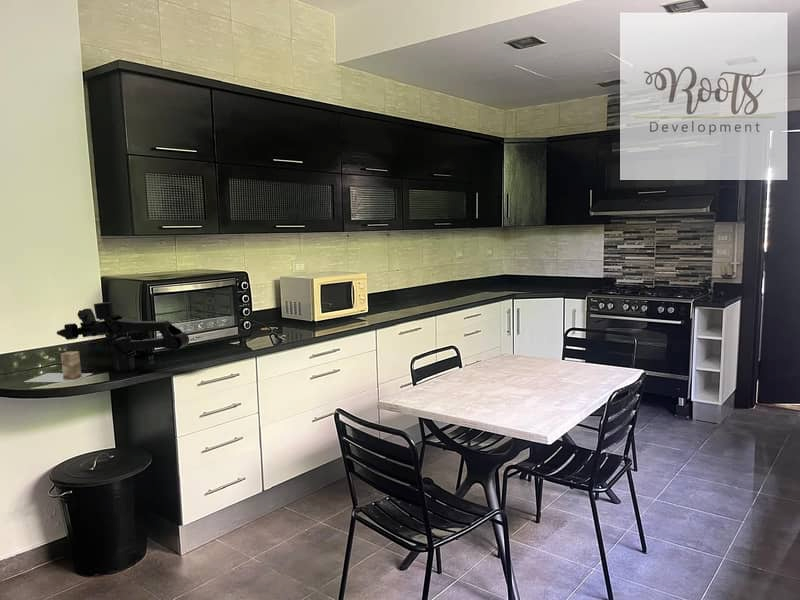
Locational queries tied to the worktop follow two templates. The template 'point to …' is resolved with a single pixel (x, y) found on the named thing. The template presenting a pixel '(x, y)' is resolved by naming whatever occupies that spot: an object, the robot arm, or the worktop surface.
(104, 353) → the worktop surface
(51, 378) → the board
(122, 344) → the robot arm
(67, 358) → the maple block
